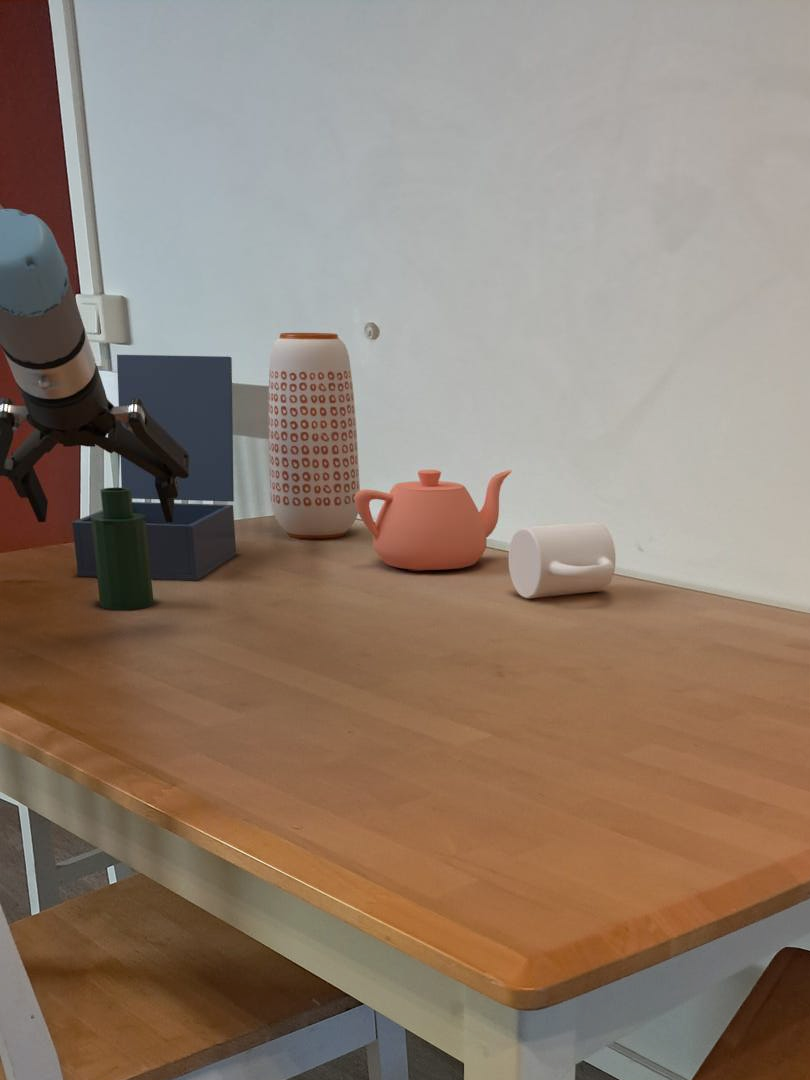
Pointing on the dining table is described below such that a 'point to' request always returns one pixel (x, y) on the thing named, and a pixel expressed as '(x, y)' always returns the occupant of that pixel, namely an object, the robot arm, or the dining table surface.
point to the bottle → (121, 553)
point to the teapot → (430, 522)
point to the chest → (172, 540)
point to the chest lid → (184, 420)
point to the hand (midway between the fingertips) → (106, 512)
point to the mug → (561, 559)
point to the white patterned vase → (312, 436)
